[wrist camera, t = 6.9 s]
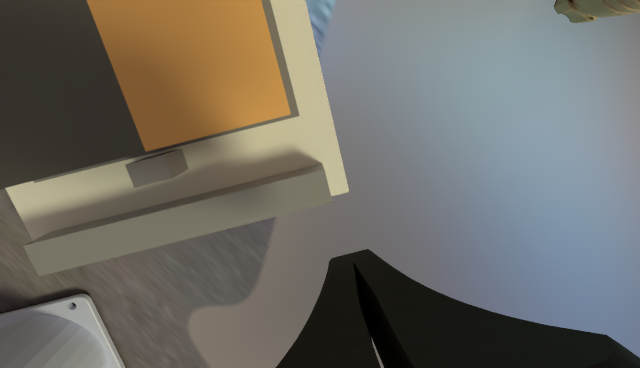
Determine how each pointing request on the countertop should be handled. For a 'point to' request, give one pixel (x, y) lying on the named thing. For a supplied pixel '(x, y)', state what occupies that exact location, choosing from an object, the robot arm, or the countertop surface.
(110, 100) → the breaker rocker
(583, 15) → the handle
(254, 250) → the countertop surface
